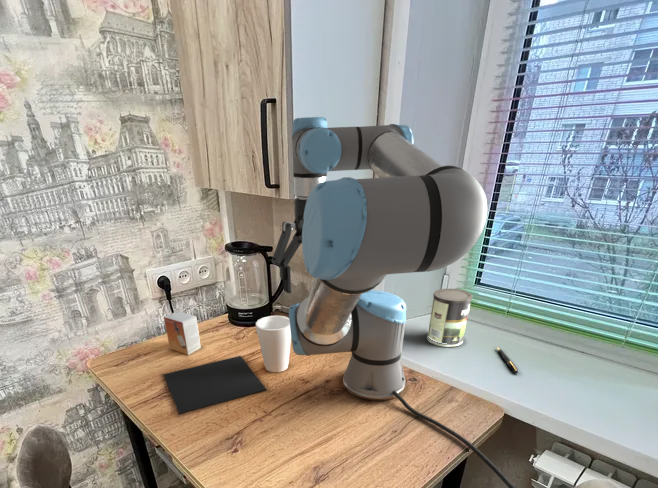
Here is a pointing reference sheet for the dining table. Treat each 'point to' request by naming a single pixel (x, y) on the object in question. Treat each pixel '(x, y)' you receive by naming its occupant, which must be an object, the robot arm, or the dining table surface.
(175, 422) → the dining table surface
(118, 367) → the dining table surface
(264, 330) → the foam cup
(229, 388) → the mat
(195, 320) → the small box
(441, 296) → the coffee can
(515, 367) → the fountain pen
